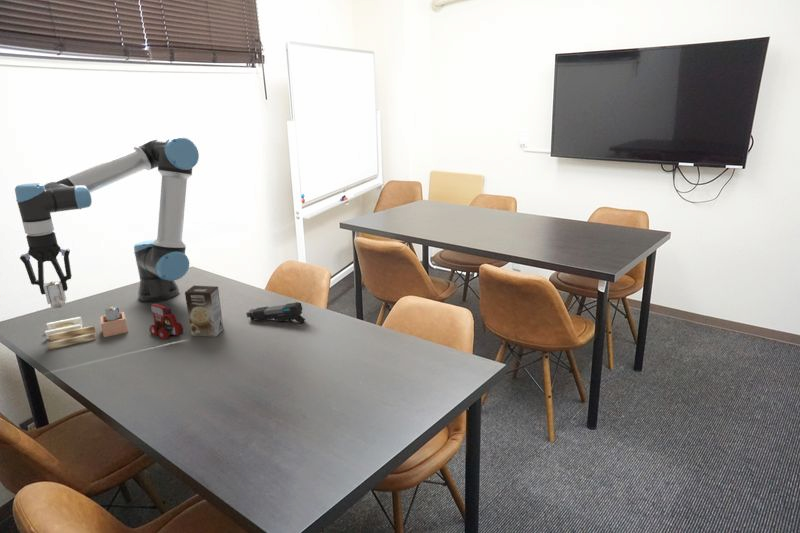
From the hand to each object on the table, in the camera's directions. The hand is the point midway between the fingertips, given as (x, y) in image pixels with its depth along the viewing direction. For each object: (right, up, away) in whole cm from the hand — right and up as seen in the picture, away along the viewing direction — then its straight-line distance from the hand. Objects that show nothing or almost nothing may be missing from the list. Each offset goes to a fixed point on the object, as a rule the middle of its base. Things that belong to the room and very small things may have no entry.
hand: (57, 301), depth 162 cm
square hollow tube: (+16, -11, +6) cm, 20 cm away
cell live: (0, -2, +1) cm, 2 cm away
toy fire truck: (+35, -12, +4) cm, 37 cm away
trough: (+5, -13, 0) cm, 14 cm away
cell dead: (+16, -11, +6) cm, 20 cm away
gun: (+70, -8, +13) cm, 72 cm away
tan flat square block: (-2, -10, +7) cm, 13 cm away
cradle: (-2, -11, +7) cm, 13 cm away
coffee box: (+48, -11, +5) cm, 50 cm away
